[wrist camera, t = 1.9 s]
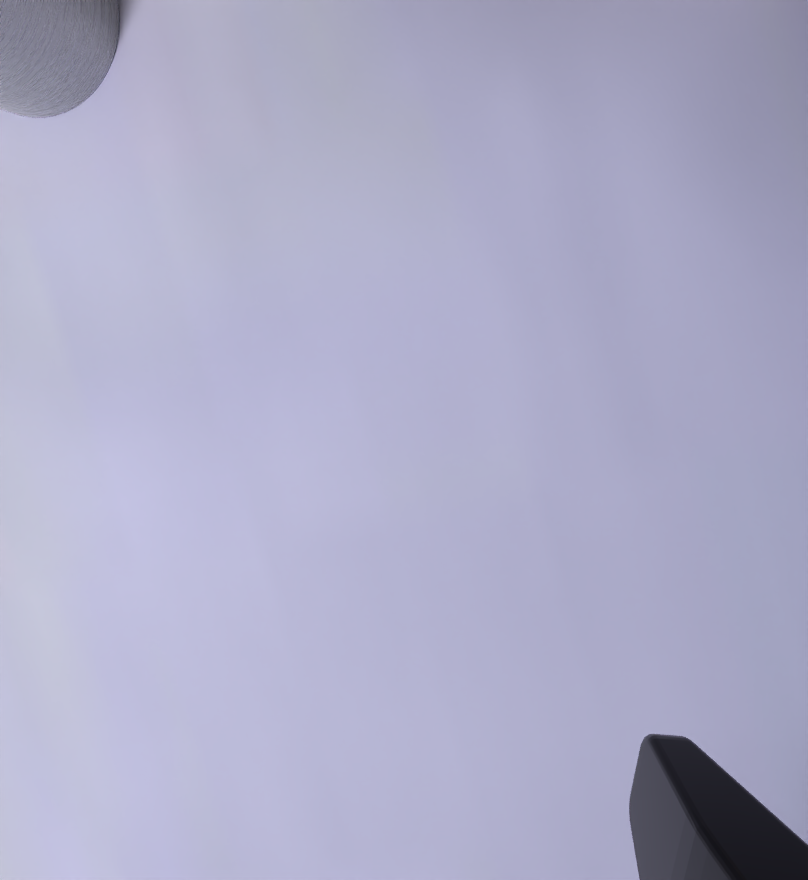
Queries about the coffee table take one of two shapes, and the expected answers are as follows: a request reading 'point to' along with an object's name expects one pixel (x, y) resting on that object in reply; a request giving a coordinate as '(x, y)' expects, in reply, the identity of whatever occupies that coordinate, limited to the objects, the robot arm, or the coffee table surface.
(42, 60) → the metal canister
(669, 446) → the coffee table surface
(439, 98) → the coffee table surface
